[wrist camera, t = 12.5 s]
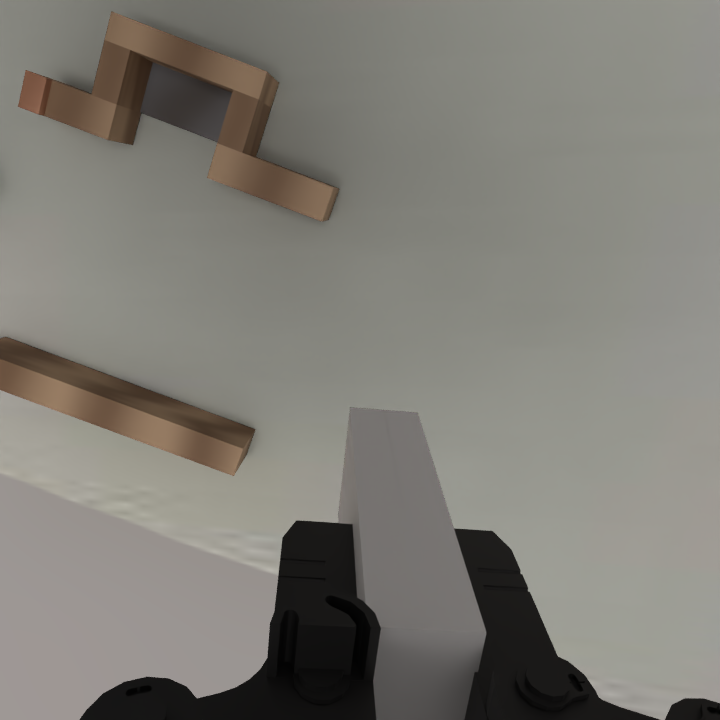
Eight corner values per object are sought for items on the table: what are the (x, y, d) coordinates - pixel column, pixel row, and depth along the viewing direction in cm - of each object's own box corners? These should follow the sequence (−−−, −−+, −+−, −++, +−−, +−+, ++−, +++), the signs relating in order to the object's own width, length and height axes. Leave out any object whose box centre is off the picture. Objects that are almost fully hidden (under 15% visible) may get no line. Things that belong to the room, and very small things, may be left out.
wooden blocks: (364, 116, 39) (360, 106, 35) (246, 454, 45) (231, 479, 41) (81, 6, 38) (44, -16, 34) (-1, 363, 44) (-41, 379, 40)
